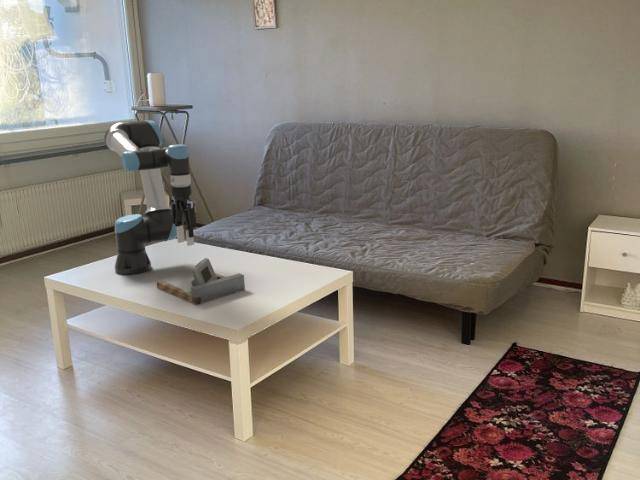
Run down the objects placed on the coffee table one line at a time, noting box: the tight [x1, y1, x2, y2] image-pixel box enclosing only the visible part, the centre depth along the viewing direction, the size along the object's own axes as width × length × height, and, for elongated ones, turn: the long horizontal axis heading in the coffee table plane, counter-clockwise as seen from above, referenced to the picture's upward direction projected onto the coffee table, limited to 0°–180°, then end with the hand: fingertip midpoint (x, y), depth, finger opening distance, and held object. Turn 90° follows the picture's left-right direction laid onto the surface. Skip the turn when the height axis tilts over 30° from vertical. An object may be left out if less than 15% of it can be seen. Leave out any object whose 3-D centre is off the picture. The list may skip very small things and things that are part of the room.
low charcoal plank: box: [190, 272, 246, 305], centre depth 238 cm, size 3×22×6 cm, turn 134°
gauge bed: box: [156, 272, 246, 305], centre depth 247 cm, size 28×22×3 cm
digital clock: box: [190, 257, 218, 287], centre depth 246 cm, size 16×9×11 cm, turn 160°
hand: (185, 243), depth 249 cm, fingers open, 6 cm apart
